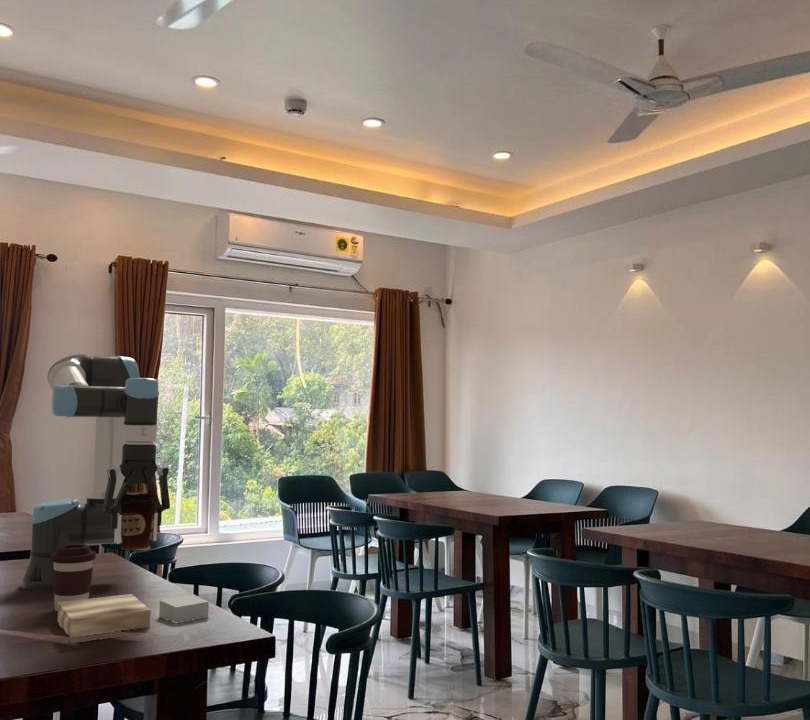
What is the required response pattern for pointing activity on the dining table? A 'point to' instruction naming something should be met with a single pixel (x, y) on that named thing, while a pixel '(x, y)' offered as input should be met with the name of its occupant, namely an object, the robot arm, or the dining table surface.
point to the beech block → (102, 615)
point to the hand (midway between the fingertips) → (135, 541)
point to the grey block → (183, 608)
